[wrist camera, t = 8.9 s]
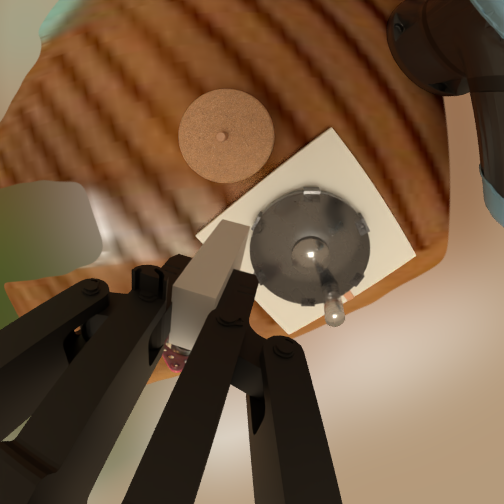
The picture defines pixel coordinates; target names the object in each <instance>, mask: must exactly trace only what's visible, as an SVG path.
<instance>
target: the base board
mask: <svg viewBox="0 0 504 504" xmlns="http://www.w3.org/2000/svg"><path fill="white" fill-rule="evenodd" d="M303 187H319V189H320V190H322V191H327V192H330V193H332V194H335V195H337V196H339V197H341V198H342V199H344V200H345V201H346V202H348V203H349V204H350V205H351V206H352V207H353V208H354V209H355V211H356V212H357V213H361V214H362V216H363V218H364V219H365V221H366V224H367V226H368V228H369V230H370V232H368V236H369V240H370V256H369V262H368V265H367V267H366V270H365V272H364V276H365V277H364V278H363V279H362V281H361V282H360V283H359V284H358V286H357V287H355V286H354V287H353V288H352V289H351V290H349V291H348V292H347V293H345V294H344V295H342V296H341V299H342V304H343V303H345V302H346V301H349V300H351V299H352V298H354V296H356V295H358V294H359V293H361V292H362V291H364V290H366V289H367V288H369V287H370V286H372V285H373V284H375V283H376V282H378V281H380V280H381V279H383V278H384V277H386V276H387V275H389V274H390V273H392V272H393V271H395V270H396V269H398V268H399V267H401V266H402V265H403V264H405V263H406V262H408V261H409V260H411V259H412V258H414V257H415V256H416V254H415V252H414V251H413V249H412V247H411V245H410V243H409V242H408V240H407V238H406V236H405V235H404V233H403V231H402V229H401V228H400V226H399V224H398V223H397V221H396V219H395V218H394V216H393V215H392V213H391V211H390V210H389V208H388V206H387V205H386V203H385V202H384V200H383V199H382V197H381V196H380V194H379V192H378V191H377V189H376V188H375V186H374V185H373V183H372V182H371V180H370V179H369V177H368V176H367V175H366V173H365V172H364V170H363V169H362V167H361V166H360V165H359V163H358V162H357V160H356V159H355V158H354V156H353V155H352V153H351V152H350V151H349V149H348V148H347V147H346V145H345V144H344V143H343V141H342V140H341V139H340V137H339V136H338V135H337V133H336V132H335V131H334V130H333V128H332V127H330V128H329V129H327V130H326V131H325V132H323V133H322V134H321V135H319V136H318V137H317V138H315V139H314V140H313V141H311V142H310V143H309V144H307V145H306V146H305V147H303V148H302V149H301V150H300V151H298V152H297V153H296V154H294V155H293V156H292V157H290V158H289V159H288V160H287V161H285V162H284V163H283V164H281V165H280V166H279V167H278V168H276V169H275V170H274V171H272V172H271V173H270V174H269V175H267V176H266V177H265V178H264V179H262V180H261V181H260V182H259V183H257V184H256V185H255V186H254V187H252V188H251V189H250V190H249V191H247V192H246V193H245V194H244V195H243V196H241V197H240V198H239V199H238V200H236V201H235V202H234V203H233V204H232V205H230V206H229V207H228V208H227V209H225V210H224V211H223V212H222V213H221V214H219V215H218V216H217V217H216V218H215V219H213V220H212V221H211V222H210V223H209V224H208V225H206V226H205V227H204V228H203V229H202V230H200V231H199V232H198V233H197V235H196V237H197V238H198V239H199V240H200V241H201V242H202V244H204V242H205V241H206V240H207V238H208V237H209V236H210V234H211V233H212V232H213V230H214V229H215V228H216V226H217V225H218V224H219V223H220V221H221V220H222V219H224V220H228V221H232V222H235V223H239V224H243V225H247V226H250V230H249V234H248V239H247V243H246V247H245V252H244V256H243V260H242V264H241V269H240V271H244V272H247V273H251V274H253V273H254V269H253V267H252V263H251V259H250V241H251V237H252V233H253V230H251V228H252V225H253V223H254V221H255V219H256V218H257V216H258V214H259V212H260V211H261V212H263V211H264V210H265V209H266V208H267V207H268V206H269V205H270V204H271V203H272V202H273V201H275V200H276V199H278V198H279V197H281V196H283V195H285V194H288V193H291V192H294V191H298V190H303ZM255 300H256V301H257V302H258V303H259V304H260V306H261V307H262V308H263V309H264V310H265V311H266V312H267V313H268V314H269V315H270V316H271V317H272V318H273V319H274V320H275V321H276V322H277V323H278V324H279V325H280V326H281V327H282V328H283V329H284V330H285V331H286V332H287V333H288V334H291V333H293V332H295V331H296V330H298V329H300V328H302V327H304V326H305V325H307V324H309V323H311V322H312V321H314V320H316V319H318V318H319V317H321V316H323V315H325V312H324V303H321V304H315V306H301V304H297V303H293V302H289V301H286V300H284V299H282V298H280V297H278V296H276V295H274V294H273V293H272V292H270V291H269V290H268V289H267V288H266V287H265V286H264V285H260V284H258V288H257V292H256V295H255Z"/></svg>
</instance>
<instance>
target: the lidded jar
mask: <svg viewBox="0 0 504 504" xmlns="http://www.w3.org/2000/svg"><path fill="white" fill-rule="evenodd" d="M274 136H275V134H274V126H273V122H272V119H271V117H270V115H269V113H268V111H267V110H266V108H265V107H264V106H263V104H262V103H261V102H260V101H259V100H257V99H256V98H255V97H253V96H252V95H250V94H248V93H246V92H243V91H240V90H236V89H217V90H213V91H210V92H207V93H205V94H203V95H201V96H200V97H199V98H197V99H196V100H195V101H194V102H193V103H192V104H191V105H190V106H189V107H188V108H187V110H186V111H185V113H184V115H183V117H182V120H181V122H180V126H179V136H178V139H179V146H180V149H181V153H182V155H183V157H184V159H185V161H186V162H187V164H188V165H189V166H190V167H191V168H192V169H193V170H194V171H195V172H196V173H197V174H199V175H200V176H202V177H204V178H205V179H208V180H211V181H214V182H218V183H234V182H238V181H242V180H244V179H247V178H249V177H250V176H252V175H254V174H255V173H256V172H257V171H259V170H260V169H261V168H262V166H263V165H264V164H265V163H266V161H267V160H268V158H269V156H270V154H271V151H272V149H273V145H274Z"/></svg>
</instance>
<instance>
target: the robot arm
mask: <svg viewBox="0 0 504 504" xmlns="http://www.w3.org/2000/svg"><path fill="white" fill-rule="evenodd" d="M387 39H388V44H389V47H390V50H391V53H392V55H393V57H394V59H395V61H396V62H397V64H398V66H399V67H400V68H401V70H402V71H403V72H404V73H405V74H406V76H407V77H408V78H409V79H411V80H412V81H413V82H414V83H415V84H417V85H418V86H419V87H421V88H422V89H424V90H426V91H428V92H430V93H433V94H436V95H440V96H459V95H463V94H466V93H468V92H470V96H471V101H472V106H473V110H474V117H475V123H476V130H477V137H478V145H479V154H480V165H479V169H480V175H481V177H482V182H483V193H484V201H485V204H486V207H487V208H488V210H489V211H490V213H491V215H492V217H493V218H494V219H495V220H496V221H497V222H498V223H499V224H500V225H502V226H503V227H504V0H405V1H404V2H402V3H401V4H400V5H399V6H398V7H397V8H396V9H395V10H394V11H393V12H392V14H391V16H390V18H389V20H388V24H387ZM249 230H250V226H247V225H243V224H239V223H235V222H232V221H228V220H224V219H222V220H221V221H220V223H219V224H218V225H217V226H216V228H215V229H214V230H213V232H212V233H211V234H210V236H209V237H208V238H207V240H206V241H205V242H204V244H203V245H202V246H201V248H200V249H199V250H198V252H197V253H196V254H195V256H194V257H193V258H191V257H187V256H184V255H180V254H178V255H175V256H173V257H171V258H169V259H168V261H167V262H166V263H165V265H163V266H162V267H161V268H160V267H158V266H153V265H141V266H138V267H135V268H134V269H132V290H131V291H130V292H129V293H128V294H121V293H112V292H109V287H108V284H107V283H105V282H104V281H102V280H100V279H94V278H91V279H85V280H82V281H80V282H78V283H76V284H75V285H73V286H71V287H70V288H68V289H66V290H64V291H63V292H61V293H59V294H58V295H56V296H54V297H53V298H51V299H49V300H48V301H46V302H44V303H43V304H41V305H39V306H38V307H36V308H34V309H33V310H31V311H30V312H28V313H26V314H25V315H23V316H21V317H20V318H18V319H17V320H15V321H14V322H12V323H10V324H9V325H7V326H6V327H4V328H3V329H1V330H0V504H87V500H88V497H89V494H90V492H91V490H92V488H93V486H94V484H95V482H96V480H97V478H98V476H99V474H100V472H101V470H102V468H103V466H104V464H105V462H106V460H107V458H108V456H109V454H110V452H111V450H112V448H113V446H114V444H115V442H116V440H117V438H118V436H119V434H120V433H121V431H122V429H123V427H124V425H125V423H126V421H127V419H128V417H129V415H130V413H131V412H132V410H133V408H134V406H135V404H136V402H137V400H138V398H139V396H140V395H141V393H142V391H143V389H144V387H145V385H146V383H147V382H148V380H149V378H150V376H151V374H152V372H153V371H154V369H155V367H156V365H157V363H158V361H159V360H160V358H161V356H162V354H163V352H164V347H165V340H166V338H167V337H168V335H169V343H170V344H173V345H176V346H179V347H182V348H185V349H188V350H191V352H190V354H189V357H188V359H187V361H186V363H185V365H184V367H183V370H182V372H181V374H180V376H179V378H178V380H177V382H176V385H175V387H174V389H173V391H172V393H171V395H170V398H169V400H168V402H167V404H166V406H165V408H164V411H163V413H162V415H161V417H160V419H159V422H158V424H157V426H156V428H155V431H154V433H153V435H152V437H151V439H150V442H149V444H148V446H147V448H146V450H145V453H144V455H143V457H142V459H141V461H140V464H139V466H138V468H137V470H136V473H135V475H134V477H133V479H132V482H131V484H130V486H129V488H128V491H127V493H126V495H125V497H124V500H123V501H122V503H121V504H194V502H195V498H196V495H197V491H198V489H199V486H200V482H201V479H202V476H203V472H204V470H205V466H206V463H207V459H208V456H209V453H210V450H211V447H212V443H213V440H214V437H215V433H216V430H217V427H218V424H219V420H220V417H221V413H222V410H223V407H224V404H225V400H226V397H227V393H228V390H229V387H230V384H231V385H233V386H235V387H236V388H238V389H240V390H241V391H243V392H245V393H246V402H247V415H248V428H249V441H250V452H251V464H252V476H253V486H254V498H255V504H342V500H341V496H340V491H339V487H338V483H337V479H336V475H335V471H334V467H333V463H332V458H331V454H330V450H329V446H328V442H327V438H326V434H325V430H324V426H323V422H322V419H321V415H320V411H319V407H318V403H317V399H316V395H315V391H314V388H313V384H312V380H311V376H310V373H309V369H308V365H307V361H306V358H305V354H304V351H303V349H302V347H301V345H300V344H298V343H297V342H296V341H295V340H293V339H291V338H289V337H285V336H272V337H270V338H268V339H265V338H263V337H261V336H260V335H258V334H257V333H256V332H255V331H254V330H253V329H252V328H251V326H250V324H249V317H250V313H251V310H252V306H253V302H254V299H255V295H256V292H257V288H258V284H259V281H258V279H257V276H256V275H255V274H251V273H247V272H244V271H240V269H241V264H242V260H243V256H244V252H245V247H246V243H247V239H248V234H249ZM79 326H80V330H79V331H76V332H74V330H75V329H76V328H77V327H79ZM31 415H32V416H31ZM30 416H31V417H30ZM29 417H30V418H29ZM28 418H29V420H28V421H27V423H26V424H25V426H24V427H23V429H22V430H21V431H20V433H19V434H18V436H17V437H16V438H15V439H14V440H13V441H2V440H3V439H4V438H6V437H7V436H8V435H9V434H10V433H11V432H13V431H14V430H15V429H16V428H17V427H18V426H20V425H21V424H22V423H23V422H24V421H25V420H27V419H28ZM1 441H2V442H1Z"/></svg>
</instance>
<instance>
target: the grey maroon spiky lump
mask: <svg viewBox="0 0 504 504" xmlns="http://www.w3.org/2000/svg"><path fill="white" fill-rule="evenodd" d="M190 352H191V350H188V349H185V348H182V347H179V346H176V345H173V344H170V343H169V335H168V337H167V338H166V340H165V347H164V352H163V354H162V356H163V358H164V360H165V362H166V364H167V366H168V367H169V369H170V370H171V371H173V372H176V373H177V372H181V371H182V370H183V367H184V365H185V363H186V361H187V359H188V357H189V354H190ZM168 356H171V358H169V357H168Z"/></svg>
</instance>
